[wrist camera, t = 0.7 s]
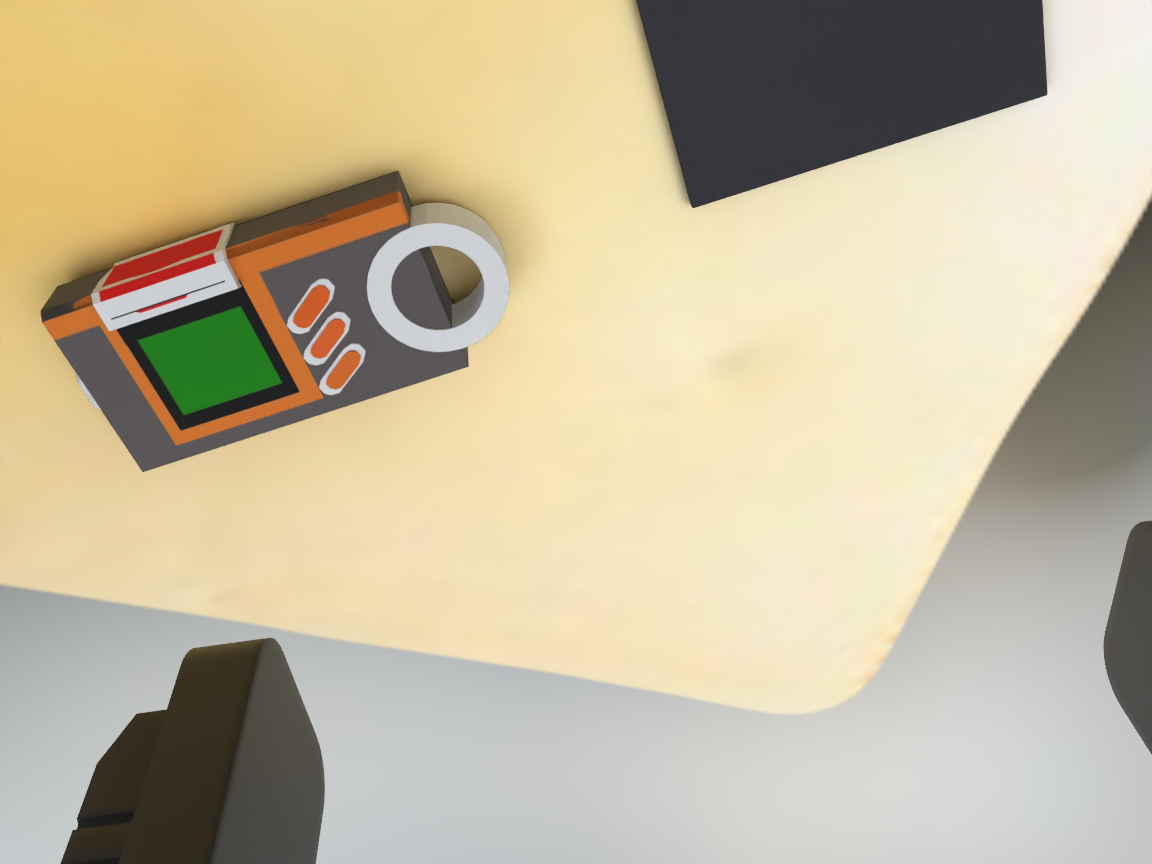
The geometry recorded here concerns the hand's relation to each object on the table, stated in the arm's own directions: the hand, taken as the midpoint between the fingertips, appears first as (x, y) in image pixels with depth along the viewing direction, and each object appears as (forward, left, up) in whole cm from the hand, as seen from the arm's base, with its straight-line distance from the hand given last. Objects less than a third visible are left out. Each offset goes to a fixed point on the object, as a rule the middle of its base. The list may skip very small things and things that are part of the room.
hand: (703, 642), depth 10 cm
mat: (+2, +8, -27) cm, 28 cm away
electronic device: (+7, -12, -27) cm, 30 cm away
